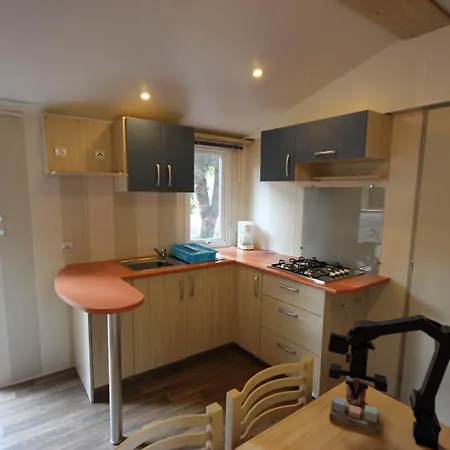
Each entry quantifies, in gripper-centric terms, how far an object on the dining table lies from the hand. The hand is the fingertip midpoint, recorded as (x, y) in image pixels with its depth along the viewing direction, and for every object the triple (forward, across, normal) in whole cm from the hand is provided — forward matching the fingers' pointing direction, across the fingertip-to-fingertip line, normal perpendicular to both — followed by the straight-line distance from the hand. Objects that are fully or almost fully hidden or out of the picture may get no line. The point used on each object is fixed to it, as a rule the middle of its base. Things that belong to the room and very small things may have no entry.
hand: (355, 399), depth 112 cm
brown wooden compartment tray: (+8, 0, 0) cm, 8 cm away
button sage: (+5, -5, 0) cm, 7 cm away
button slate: (+5, +5, 0) cm, 7 cm away
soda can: (+8, 0, -12) cm, 14 cm away
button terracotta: (+7, 0, 0) cm, 7 cm away
